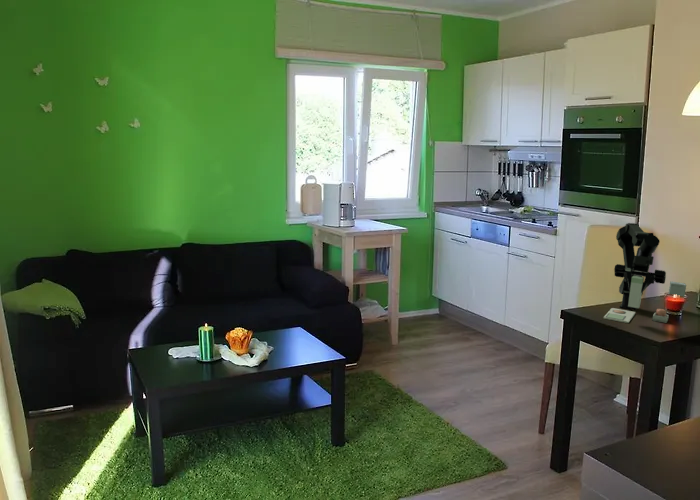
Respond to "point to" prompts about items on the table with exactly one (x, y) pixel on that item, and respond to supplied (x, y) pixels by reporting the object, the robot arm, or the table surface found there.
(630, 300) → the pale green tall box
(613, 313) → the picture board
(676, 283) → the skincare box
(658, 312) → the button
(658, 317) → the button housing
